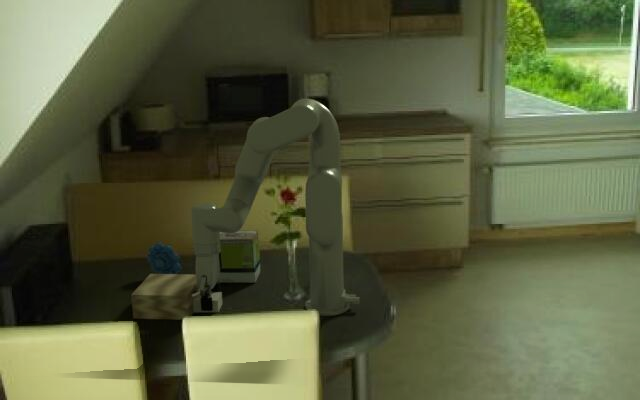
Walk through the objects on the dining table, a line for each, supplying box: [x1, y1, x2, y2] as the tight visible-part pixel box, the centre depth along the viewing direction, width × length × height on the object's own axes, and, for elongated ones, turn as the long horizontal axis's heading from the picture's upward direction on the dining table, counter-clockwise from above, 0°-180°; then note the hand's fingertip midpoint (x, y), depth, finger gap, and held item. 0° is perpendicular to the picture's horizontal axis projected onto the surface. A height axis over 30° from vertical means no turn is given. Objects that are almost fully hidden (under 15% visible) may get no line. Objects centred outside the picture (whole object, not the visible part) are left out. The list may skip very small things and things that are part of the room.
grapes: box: [146, 242, 182, 274], centre depth 226 cm, size 12×7×12 cm, turn 76°
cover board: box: [192, 291, 223, 313], centre depth 204 cm, size 16×6×4 cm, turn 87°
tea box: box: [219, 229, 261, 284], centre depth 225 cm, size 15×10×15 cm, turn 84°
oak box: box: [130, 273, 200, 320], centre depth 205 cm, size 16×16×7 cm
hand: (211, 303), depth 204 cm, fingers open, 8 cm apart
